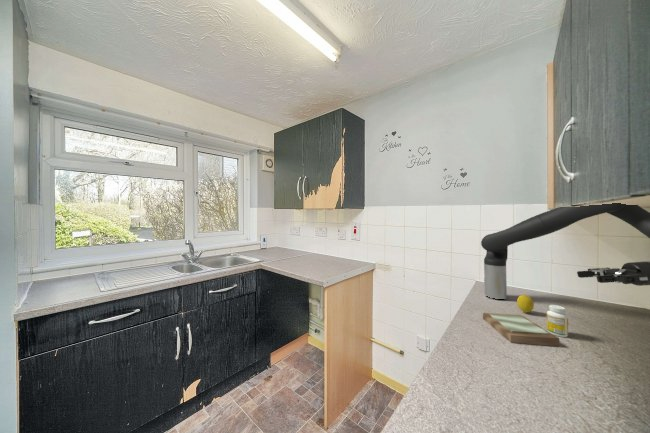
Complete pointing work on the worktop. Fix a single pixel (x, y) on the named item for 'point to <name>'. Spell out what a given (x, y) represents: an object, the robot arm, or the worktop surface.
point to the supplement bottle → (557, 321)
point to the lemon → (525, 303)
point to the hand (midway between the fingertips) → (587, 276)
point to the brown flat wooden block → (520, 329)
